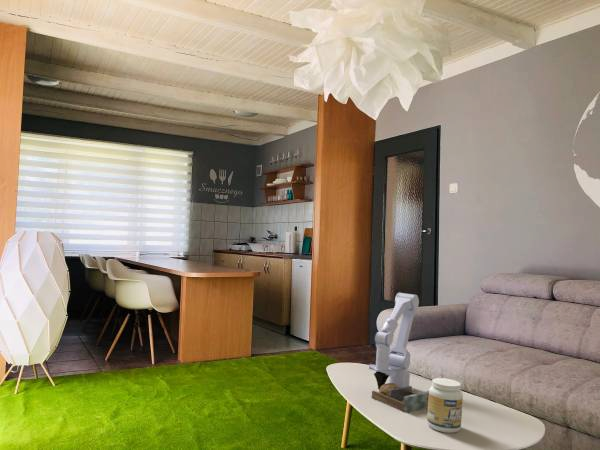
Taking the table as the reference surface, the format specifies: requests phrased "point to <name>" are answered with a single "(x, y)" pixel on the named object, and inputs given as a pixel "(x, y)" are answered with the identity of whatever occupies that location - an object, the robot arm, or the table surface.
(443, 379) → the supplement tub
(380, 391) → the bread roll
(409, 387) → the pusher plate
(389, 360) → the robot arm
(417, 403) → the brown wooden tray
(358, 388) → the table surface
